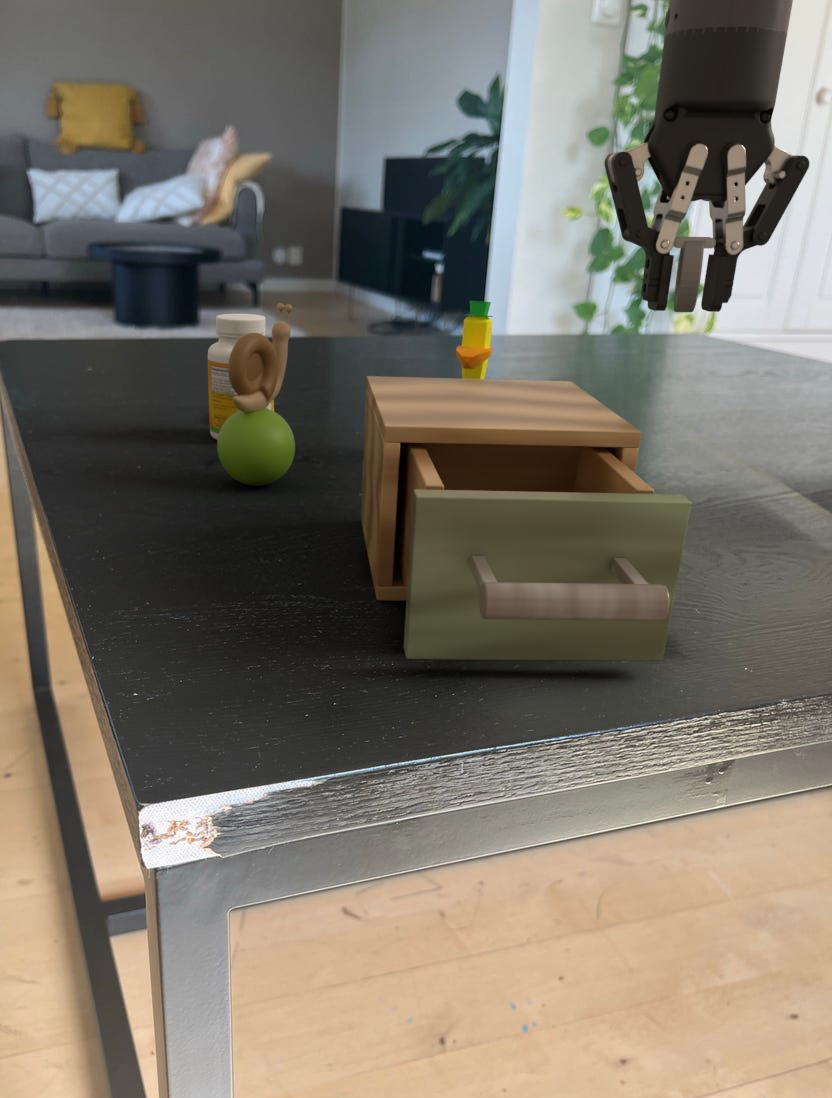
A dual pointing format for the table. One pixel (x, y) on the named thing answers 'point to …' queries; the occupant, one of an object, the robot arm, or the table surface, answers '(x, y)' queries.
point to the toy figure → (475, 341)
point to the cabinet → (466, 440)
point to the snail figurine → (257, 409)
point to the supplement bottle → (218, 360)
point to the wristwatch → (689, 271)
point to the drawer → (535, 554)
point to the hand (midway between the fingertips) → (684, 308)
